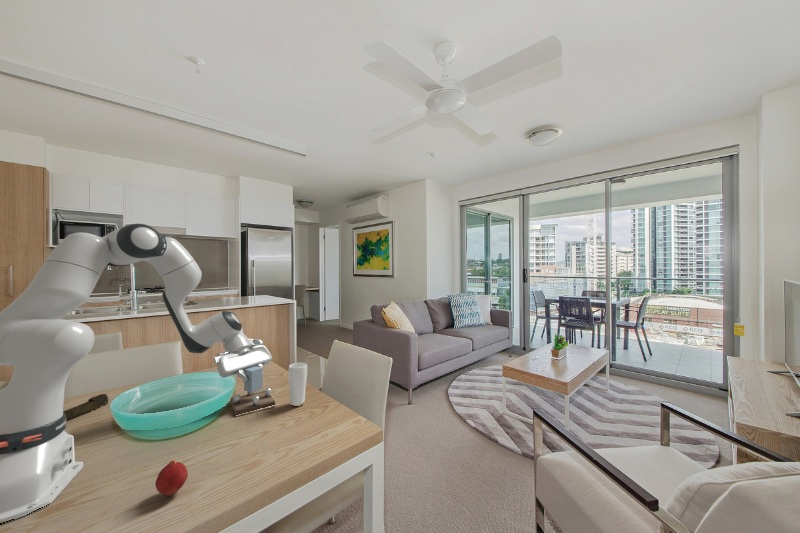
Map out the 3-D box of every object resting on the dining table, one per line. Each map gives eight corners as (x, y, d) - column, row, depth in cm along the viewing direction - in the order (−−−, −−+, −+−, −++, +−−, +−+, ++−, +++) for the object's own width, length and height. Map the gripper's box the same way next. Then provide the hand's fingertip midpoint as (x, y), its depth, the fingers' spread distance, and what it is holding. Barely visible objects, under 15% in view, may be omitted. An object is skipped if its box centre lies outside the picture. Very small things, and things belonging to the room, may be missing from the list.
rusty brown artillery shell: (50, 430, 95) (50, 416, 95) (39, 429, 95) (40, 415, 96) (114, 404, 114) (114, 392, 114) (105, 404, 114) (105, 391, 114)
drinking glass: (297, 409, 111) (298, 369, 111) (284, 406, 113) (284, 366, 114) (310, 402, 117) (311, 364, 117) (297, 399, 120) (297, 361, 120)
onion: (148, 504, 65) (149, 467, 66) (168, 485, 71) (169, 451, 71) (174, 504, 66) (175, 467, 66) (193, 485, 71) (193, 452, 71)
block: (262, 388, 115) (262, 367, 115) (251, 392, 111) (252, 371, 111) (254, 386, 117) (255, 365, 117) (244, 390, 113) (244, 369, 113)
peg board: (275, 407, 113) (275, 393, 113) (236, 416, 105) (236, 402, 105) (267, 395, 123) (267, 383, 123) (230, 403, 115) (231, 390, 115)
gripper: (215, 350, 109) (231, 382, 104) (264, 339, 127) (280, 366, 122) (208, 360, 111) (223, 392, 106) (257, 348, 129) (272, 375, 124)
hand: (254, 378), depth 114 cm, fingers closed on block, 4 cm apart
